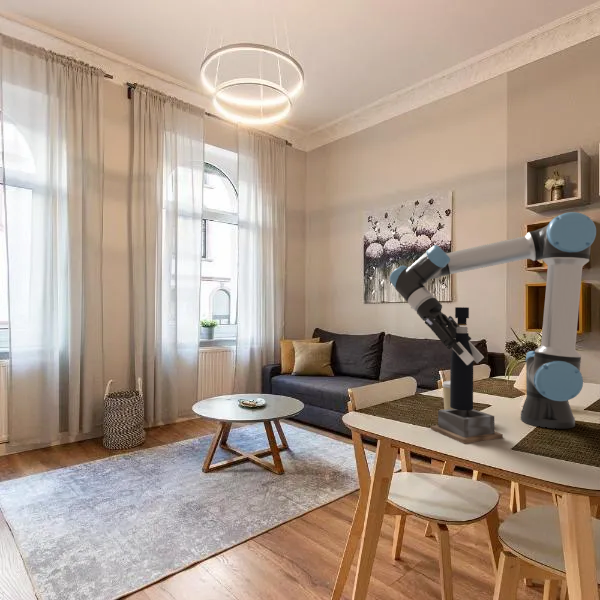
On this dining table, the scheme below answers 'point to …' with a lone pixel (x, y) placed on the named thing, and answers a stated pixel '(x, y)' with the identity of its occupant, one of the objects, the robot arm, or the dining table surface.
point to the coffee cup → (446, 394)
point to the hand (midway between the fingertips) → (475, 361)
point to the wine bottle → (461, 367)
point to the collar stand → (466, 425)
